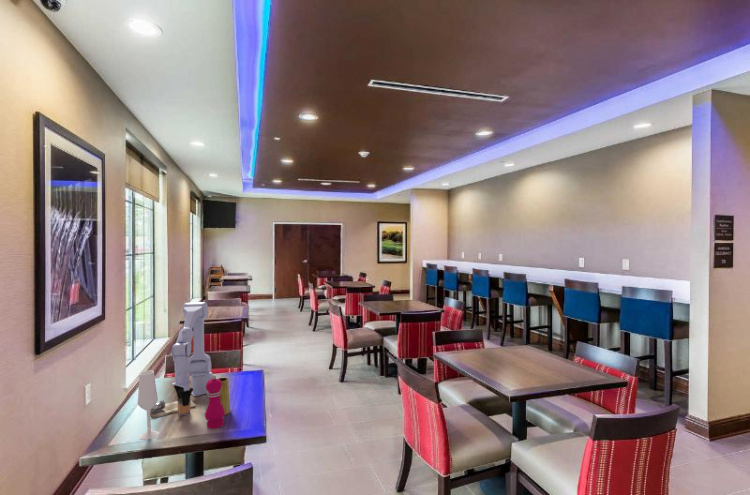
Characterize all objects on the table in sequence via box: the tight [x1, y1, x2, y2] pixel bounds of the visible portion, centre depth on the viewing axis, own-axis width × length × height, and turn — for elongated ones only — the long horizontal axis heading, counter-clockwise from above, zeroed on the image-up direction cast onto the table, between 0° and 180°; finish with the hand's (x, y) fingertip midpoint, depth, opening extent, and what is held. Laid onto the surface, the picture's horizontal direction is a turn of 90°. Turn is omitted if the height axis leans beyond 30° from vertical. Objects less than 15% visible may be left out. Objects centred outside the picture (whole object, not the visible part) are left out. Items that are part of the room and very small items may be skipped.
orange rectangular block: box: [176, 399, 191, 417], centre depth 175 cm, size 4×4×6 cm
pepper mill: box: [204, 374, 226, 430], centre depth 163 cm, size 7×7×20 cm
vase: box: [217, 377, 231, 416], centre depth 175 cm, size 6×6×14 cm
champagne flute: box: [137, 370, 160, 441], centre depth 156 cm, size 7×7×24 cm
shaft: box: [150, 400, 166, 414], centre depth 176 cm, size 5×4×5 cm
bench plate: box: [150, 400, 196, 419], centre depth 181 cm, size 17×11×1 cm, turn 127°
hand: (183, 402), depth 175 cm, fingers open, 7 cm apart
